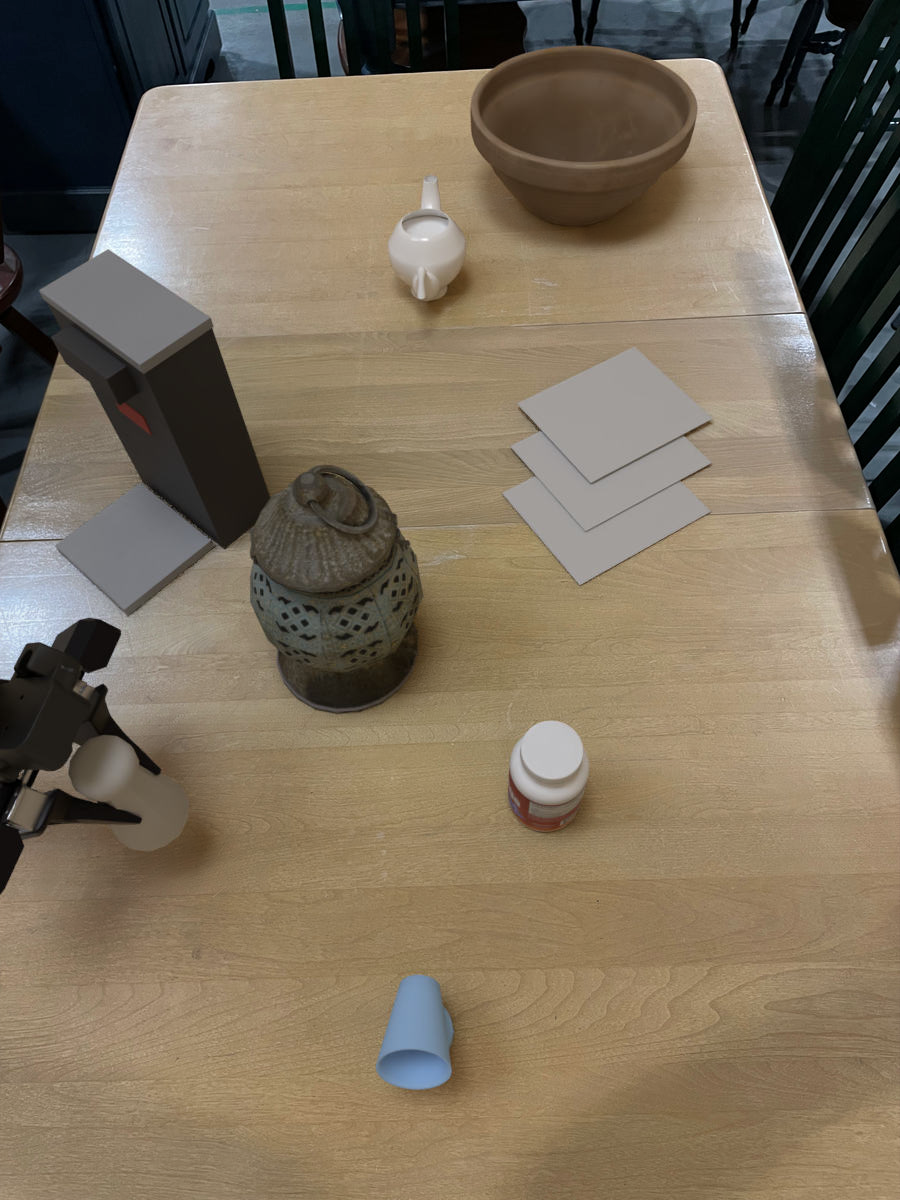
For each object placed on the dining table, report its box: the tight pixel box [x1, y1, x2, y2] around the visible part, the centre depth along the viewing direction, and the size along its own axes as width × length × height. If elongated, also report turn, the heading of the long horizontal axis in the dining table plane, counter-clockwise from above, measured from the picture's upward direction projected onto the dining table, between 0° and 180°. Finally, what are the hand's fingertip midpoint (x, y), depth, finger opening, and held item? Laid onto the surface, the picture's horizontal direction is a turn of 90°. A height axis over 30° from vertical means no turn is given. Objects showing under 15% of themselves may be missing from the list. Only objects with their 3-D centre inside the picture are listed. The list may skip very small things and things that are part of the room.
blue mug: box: [375, 974, 455, 1091], centre depth 59 cm, size 5×10×7 cm
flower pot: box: [469, 45, 698, 227], centre depth 112 cm, size 28×28×13 cm
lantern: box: [249, 464, 424, 715], centre depth 70 cm, size 14×14×25 cm
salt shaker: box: [67, 735, 190, 853], centre depth 61 cm, size 6×6×13 cm
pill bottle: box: [507, 720, 590, 833], centre depth 68 cm, size 6×6×11 cm
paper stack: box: [501, 346, 714, 586], centre depth 92 cm, size 23×25×1 cm
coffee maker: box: [38, 248, 272, 616], centre depth 79 cm, size 19×14×25 cm
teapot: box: [387, 174, 467, 302], centre depth 104 cm, size 10×20×9 cm, turn 177°
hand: (148, 797), depth 61 cm, fingers closed on salt shaker, 3 cm apart
